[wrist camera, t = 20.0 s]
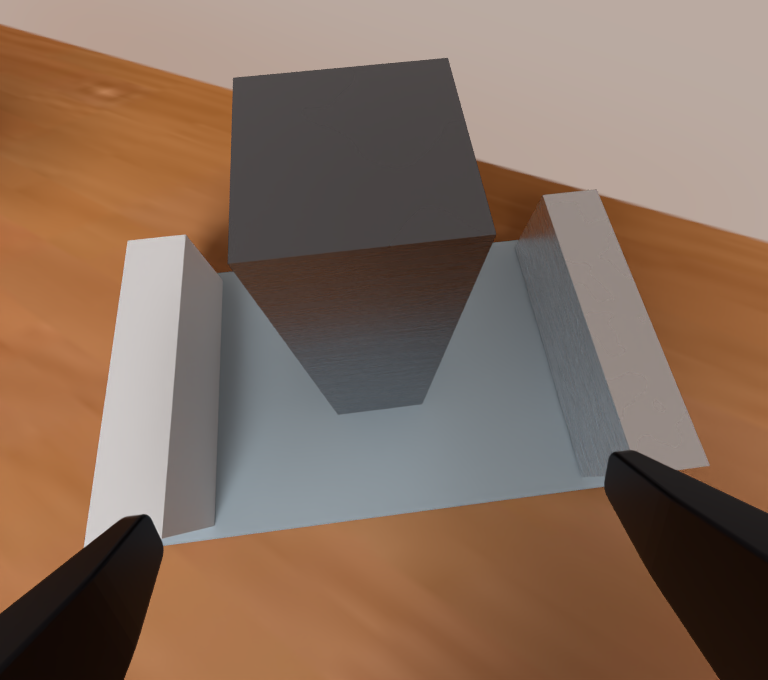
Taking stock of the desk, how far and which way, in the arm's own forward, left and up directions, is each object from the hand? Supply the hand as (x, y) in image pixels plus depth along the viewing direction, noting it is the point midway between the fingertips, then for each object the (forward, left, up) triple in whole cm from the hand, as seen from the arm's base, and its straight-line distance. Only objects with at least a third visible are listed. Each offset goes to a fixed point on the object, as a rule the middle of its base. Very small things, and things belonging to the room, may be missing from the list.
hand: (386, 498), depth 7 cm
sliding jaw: (+11, +2, -10) cm, 15 cm away
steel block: (+2, +5, -10) cm, 11 cm away
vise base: (+2, +5, -11) cm, 12 cm away
